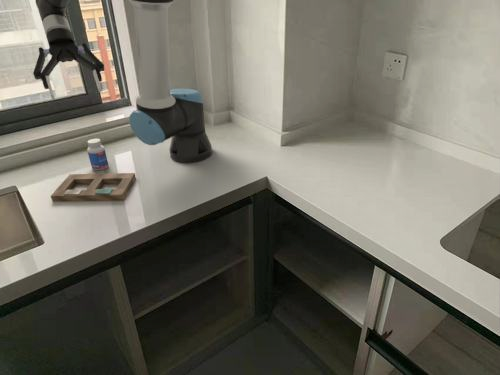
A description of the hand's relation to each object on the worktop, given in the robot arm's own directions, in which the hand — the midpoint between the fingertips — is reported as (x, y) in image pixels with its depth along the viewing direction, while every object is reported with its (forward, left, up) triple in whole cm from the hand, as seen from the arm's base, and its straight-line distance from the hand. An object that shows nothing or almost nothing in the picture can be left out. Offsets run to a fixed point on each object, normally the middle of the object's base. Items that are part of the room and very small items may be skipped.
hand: (77, 93), depth 113 cm
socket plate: (-5, +15, -25) cm, 30 cm away
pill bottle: (-1, 0, -26) cm, 26 cm away
